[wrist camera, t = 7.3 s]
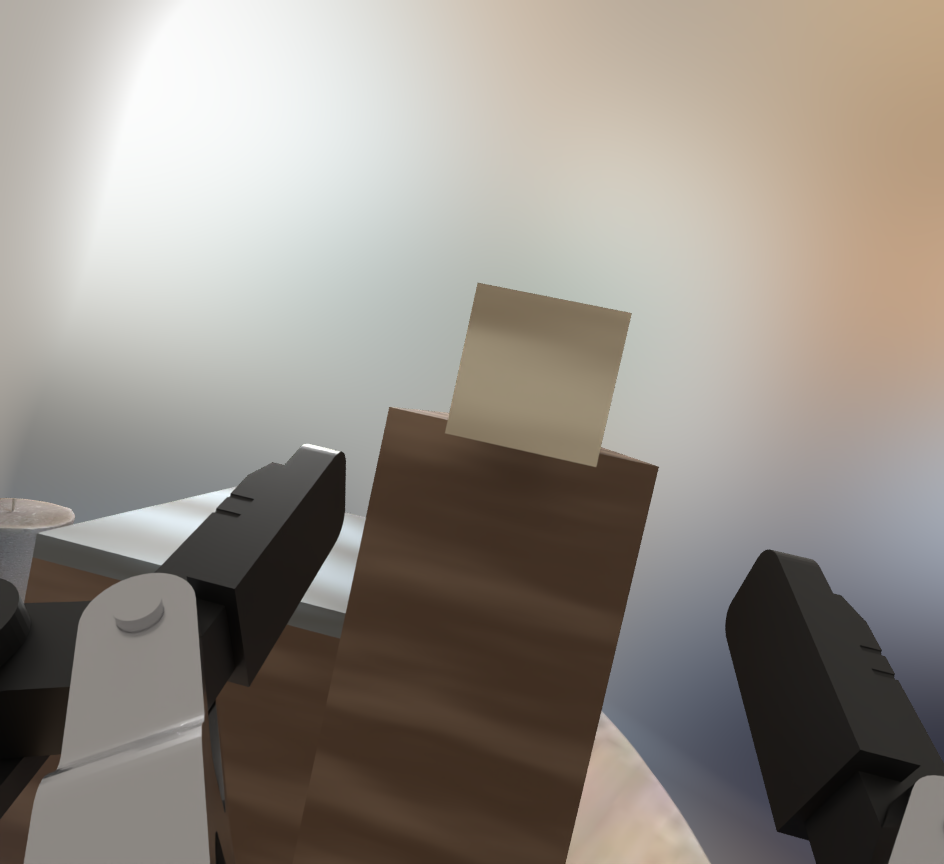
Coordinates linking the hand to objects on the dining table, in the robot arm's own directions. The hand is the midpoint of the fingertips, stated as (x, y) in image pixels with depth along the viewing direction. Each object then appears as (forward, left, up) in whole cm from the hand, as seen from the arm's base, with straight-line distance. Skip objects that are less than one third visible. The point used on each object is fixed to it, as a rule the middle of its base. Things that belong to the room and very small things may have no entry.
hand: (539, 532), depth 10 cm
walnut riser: (+4, +18, -31) cm, 35 cm away
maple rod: (+6, +9, +1) cm, 11 cm away
